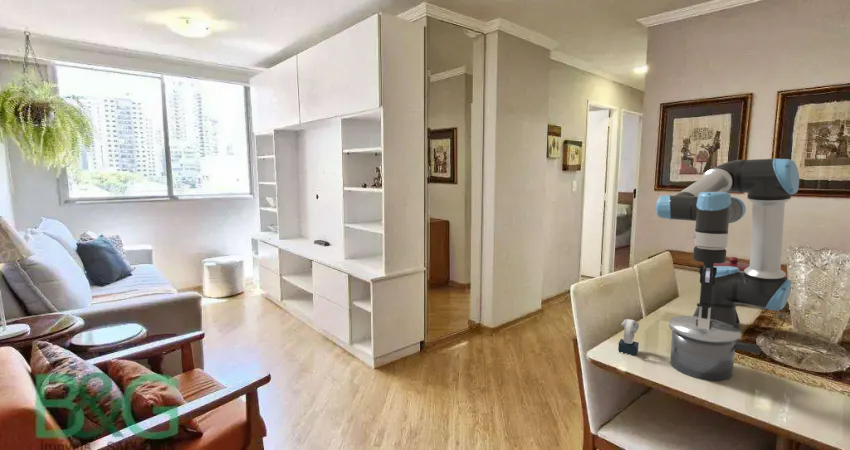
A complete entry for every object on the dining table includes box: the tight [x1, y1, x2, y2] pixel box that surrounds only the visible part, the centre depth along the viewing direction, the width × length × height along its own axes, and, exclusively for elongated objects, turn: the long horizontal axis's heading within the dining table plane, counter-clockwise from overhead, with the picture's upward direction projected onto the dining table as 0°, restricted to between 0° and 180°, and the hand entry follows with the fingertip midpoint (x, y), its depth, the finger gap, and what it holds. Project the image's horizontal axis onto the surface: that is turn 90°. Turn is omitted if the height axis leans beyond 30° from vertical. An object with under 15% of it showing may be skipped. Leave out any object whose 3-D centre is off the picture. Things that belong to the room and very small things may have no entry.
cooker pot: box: [669, 330, 761, 382], centre depth 123 cm, size 17×22×12 cm
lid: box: [668, 315, 742, 343], centre depth 123 cm, size 18×18×3 cm
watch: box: [617, 318, 640, 357], centre depth 136 cm, size 6×8×11 cm
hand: (703, 327), depth 116 cm, fingers closed
